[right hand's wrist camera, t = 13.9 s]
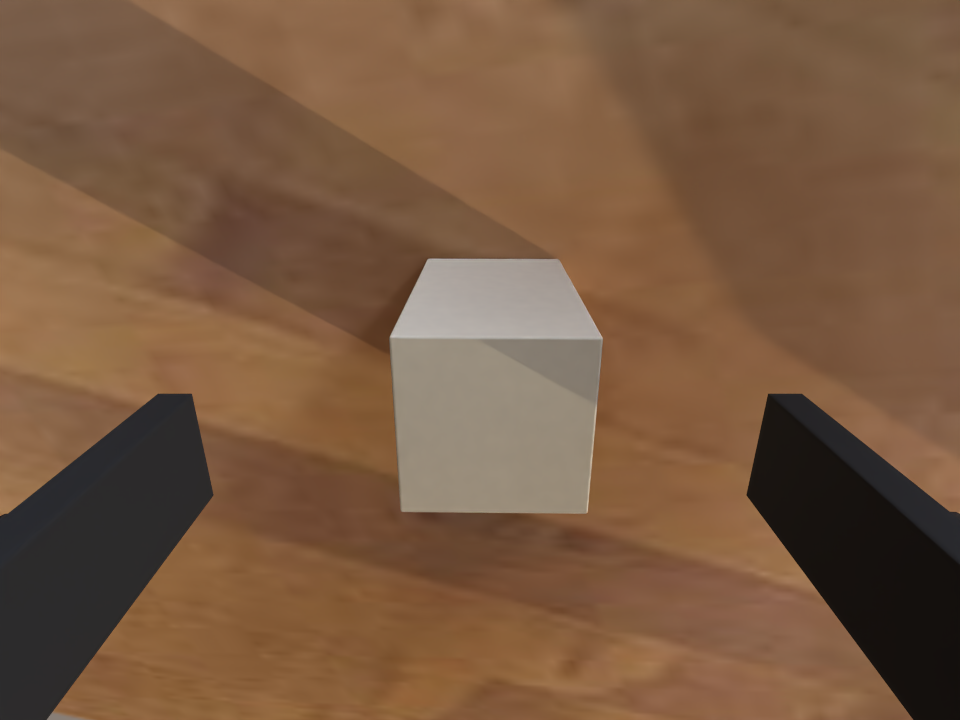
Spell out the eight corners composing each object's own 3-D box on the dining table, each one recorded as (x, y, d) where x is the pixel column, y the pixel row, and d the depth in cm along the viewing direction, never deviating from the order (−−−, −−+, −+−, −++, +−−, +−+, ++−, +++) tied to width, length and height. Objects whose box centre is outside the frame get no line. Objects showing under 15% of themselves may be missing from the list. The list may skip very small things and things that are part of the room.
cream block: (427, 258, 20) (388, 336, 12) (559, 258, 20) (603, 337, 12) (431, 378, 22) (400, 512, 14) (552, 379, 22) (588, 514, 14)
